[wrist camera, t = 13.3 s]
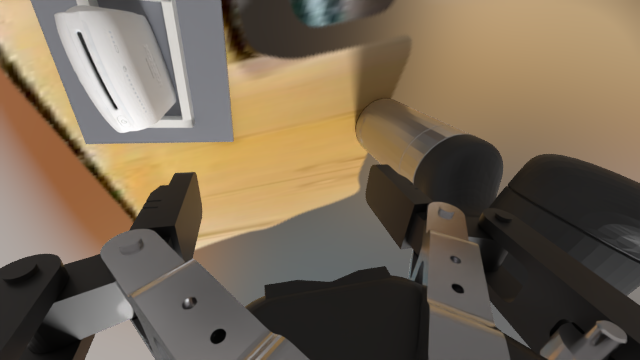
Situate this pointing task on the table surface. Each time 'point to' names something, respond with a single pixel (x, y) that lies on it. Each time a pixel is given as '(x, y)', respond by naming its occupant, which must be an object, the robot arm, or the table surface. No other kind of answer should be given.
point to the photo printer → (117, 65)
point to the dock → (181, 61)
